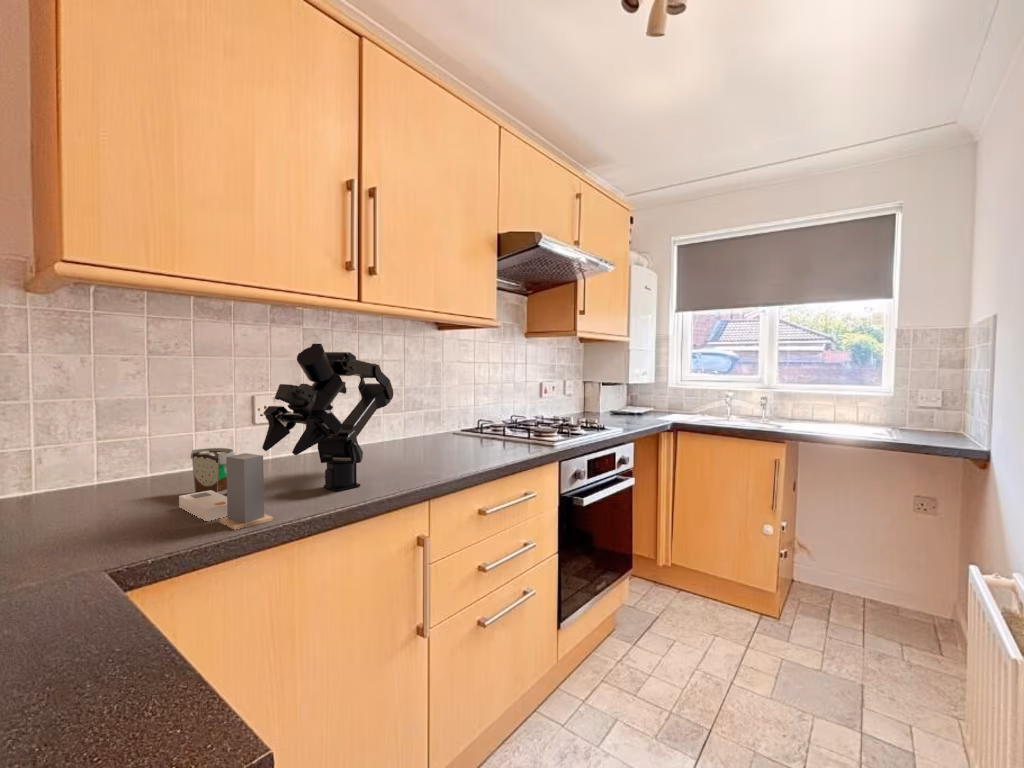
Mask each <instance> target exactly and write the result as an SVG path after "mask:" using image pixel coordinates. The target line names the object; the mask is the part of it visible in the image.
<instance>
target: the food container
mask: <svg viewBox="0 0 1024 768" xmlns="http://www.w3.org/2000/svg"><path fill="white" fill-rule="evenodd" d="M234 455H236V453H235V452H234V449H232V448H228V447H227V448H226V447H212V448H211V447H210V448H207V447H206V448H199V449H191V453H190V459H191V460H192V462H191V463H192V470H193V471H192V472H193V485H194V487H193V488H194V493H198V492H204V491H209V490H212V491H214V492H217V493H219V494H221V495H224V496H226V497H227V468H226V457H228V456H234Z"/></svg>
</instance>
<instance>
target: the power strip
mask: <svg viewBox="0 0 1024 768" xmlns="http://www.w3.org/2000/svg"><path fill="white" fill-rule="evenodd" d="M178 502H179V503H178V505H179V507H180V508H179V509H181V508H182V509H181V510H183V509H184V510H185V512H186V511H187V512H186V513H188V512H189V514H190V513H191V514H190V515H192V514H193V515H192V516H194V515H195V516H194V517H196V516H197V517H196V518H198V519H200V518H201V519H203V520H204V521H203V520H202V521H203V522H205V521H208V522H211V520H212V521H216V520H219V519H218V518H223V517H226V516H228V515H227V496H224V495H221V494H219V493H217V492H214V491H212V490H209V491H204V492H198V493H195V492H193V493H188V494H183V495H179V496H178ZM184 510H183V511H184ZM201 519H200V520H201ZM215 519H216V520H215Z"/></svg>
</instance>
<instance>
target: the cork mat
mask: <svg viewBox="0 0 1024 768" xmlns="http://www.w3.org/2000/svg"><path fill="white" fill-rule="evenodd" d="M273 521H274V517H273V516H271V515H268V514H267V513H264V517H263V518H260V519H256V520H253V521H250V522H247V523H242V522H238V521H233V520H229V519H228V517H225V518H221V519H218V523H220V524H222V525H224V526H226V525H227V526H226V527H228V528H230V529H232V530H233V529H234V531H237V530H240V528H241V529H245V528H248V527H249V528H250V527H252V526H253V527H254V526H256V525H260V524H266V523H269V522H273ZM244 527H245V528H244ZM236 529H237V530H236Z"/></svg>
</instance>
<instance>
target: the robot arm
mask: <svg viewBox="0 0 1024 768" xmlns="http://www.w3.org/2000/svg"><path fill="white" fill-rule="evenodd" d="M296 362H297V363H298V365H299V367H300V368H301V369H302V372H303V373H304V374H305V376H306V378H307V380H308V381H310V382H312V384H311V385H310V384H308V383H300V384H299V385H295V384H294V385H293V384H285V383H280V384H279V385H278V388H277V391H276V393H275V395H274V399H275V400H277V401H279V400H280V401H282V402H283V403H286V404H288V405H287V407H288V409H289V410H291V411H292V412H290V411H289V410H288V409H287V408H286V407H285V406H281V405H269V406H267V408H266V409H265V410H264V411H263V415H264V417H265V419H266V420H267V422H268V428H267V432H266V435H265V438H264V441H263V444H262V450H263V451H265V452H268V451H269V450H270V449H272V448H273V447H274V446H276V445H277V444H278V443H280V442H281V440H283V439H284V438H286V436H288V435H289V434H291V430H292V429H294V428H295V427H296V425H297V424H301V425H302V424H303V425H305V430H303V432H302V434H301V436H300V438H299V439H298V441H297V442H296V444H295V445H294V448H293V449H292V452H291V453H292V454H293V455H294V456H298V455H299V454H301V453H303V452H304V451H306V450H308V449H310V448H311V447H314V446H315V445H317V451H318V455H319V459H320V463H321V464H325V463H326V469H325V471H324V481H325V483H324V484H323V485H322V486H323V488H326V489H330V490H332V491H335V492H336V491H337V492H339V491H345V490H348V489H353V488H357V487H361V483H358V482H357V481H358V480H357V468H358V467H357V464H361V463H362V461H363V458H364V457H363V455H364V451H363V449H362V448H361V446H360V444H359V442H358V436H359V434H361V432H362V430H363V429H364V428H365V427H366V425H367V423H368V422H369V421H370V420H371V418H372V417H373V415H374V414H375V412H376V411H377V410H380V409H382V408H385V407H386V406H388V405H389V404H390V403H391V402H392V400H393V398H394V389H393V385H392V382H391V380H390V378H389V377H388V376H387V375H386V374H385V373H383V372H382V369H381V366H380V365H379V364H377V363H372V362H371V363H370V362H367V361H363V360H359V359H357V356H356V355H354V354H353V353H352V352H350V351H325V349H324V346H323V345H322V343H312V344H311V346H309V347H307V348H305V349H303V350H301V352H299V353H298V354H297V356H296ZM351 376H355V377H356V376H357V377H359V378H360V381H359V383H358V386H357V389H358V392H359V394H360V397H361V399H360V400H359V402H357V404H356V405H355V407H353V409H351V411H350V413H349V414H348V415H347V417H346V418H345V419H344V420H343V421H342V422H341V421H340V420H339V418H337V416H336V415H335V414H334V413H333V411H332V409H334V406H333V405H332V403H333V402H334V400H335V398H336V397H337V396H338V395H339V393H340V394H344V395H345V394H347V387H346V381H343V379H342V378H341V377H351ZM365 379H375V381H376V382H377V383H375V382H374V383H372V382H371V383H370V382H369V383H368V382H367V383H366V382H365Z"/></svg>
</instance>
